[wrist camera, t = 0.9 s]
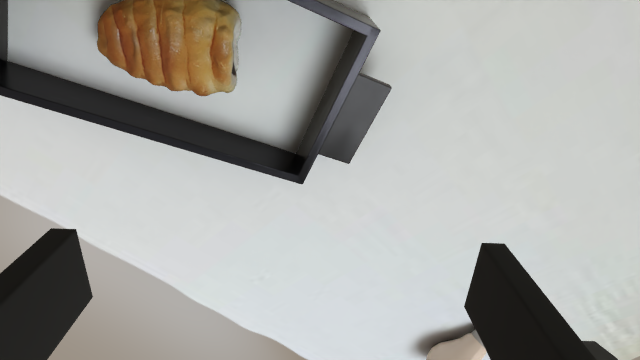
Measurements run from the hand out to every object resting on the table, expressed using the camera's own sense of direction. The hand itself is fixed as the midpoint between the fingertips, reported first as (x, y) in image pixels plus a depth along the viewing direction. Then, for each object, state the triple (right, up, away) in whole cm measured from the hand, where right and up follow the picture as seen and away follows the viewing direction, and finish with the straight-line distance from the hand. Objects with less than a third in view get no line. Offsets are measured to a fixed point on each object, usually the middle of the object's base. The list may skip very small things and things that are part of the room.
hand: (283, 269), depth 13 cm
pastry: (-9, +13, +15) cm, 22 cm away
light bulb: (+20, -20, +43) cm, 51 cm away
